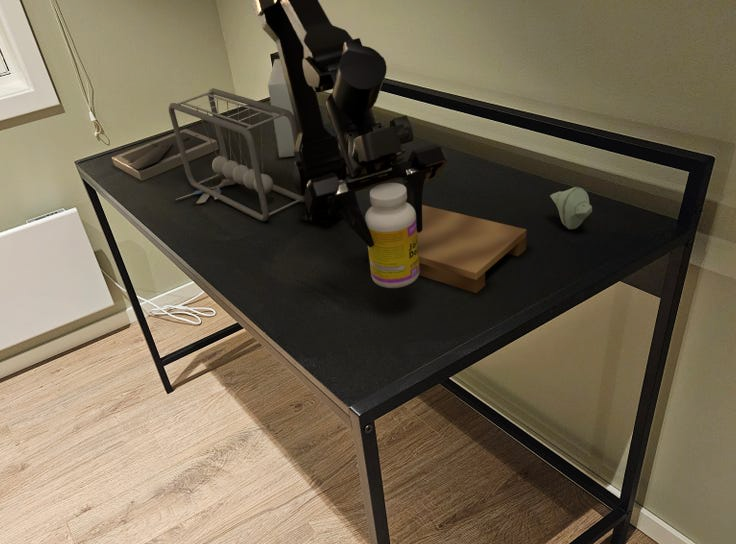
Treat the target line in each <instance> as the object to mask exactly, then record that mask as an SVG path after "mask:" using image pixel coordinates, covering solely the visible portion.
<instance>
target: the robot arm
mask: <svg viewBox="0 0 736 544" xmlns="http://www.w3.org/2000/svg"><path fill="white" fill-rule="evenodd" d="M251 4H252V8H253V12H254V14H255V16H256V17H258V19H259V22H260V26H261V28H262V30H263V31H264V32H265V33H266V34H267V36H268V37H269V38H270V39H271V40H272V41H274V43H275V45H276V49H277V52H278V57H279V59H280V61H281V65H282V69H283V73H284V77H285V81H286V85H287V89H288V93H289V97H290V101H291V105H292V109H293V113H294V117H295V121H296V126H297V130H298V138H297V142H296V145H295V149H294V156H293V157H294V162H293V166H292V172H291V178H292V182H293V185H294V188H295V189H296V191H297V193H299V195H300V196H304V200H305V202H304V205H305V210H306V214H305V215H303V216H302V217H301V221H302V222H305V223H309V224H311V225H315V226H319V227H322V228H329V227H331V226H332V225H333V224H335V223H336V222H337V221H339V220H342V221H343V222H344V223H346V224H347V225H348V226H349V228H351V229H352V230H353V231H354V232H355V234H357V236H359V238H360V239H361V240H362V241H363V242H364V243H365V244H366V245H367V247H368V246H369V247H370V248H371V247H373V245H374V243H373V239H372V236H371V233H370V231H369V229H368V226H367V224H366V222H365V216H364V215H363V213H362V210H361V208H360V206H359V203H358V199H357V195H356V192H359V191H363V190H366V189H369V188H374V187H376V186H378V185H380V184H385V183H392V182H394V181H397V180H401V179H402V182H403V185H404V186H405V187H406V190H407V199H406V202H407V203H409V204H410V205H411V206H412V207H413V208H414V210H415V213H416V225H417V232H418V233H420V232H421V231H422V205H423V194H424V193H423V192H424V186H425V185H426V183H427V182H428V181H431V180H434V179H436V178H437V177H438V176H439V174H440V173H441V172H442V170H443V168H444V167H445V165H446V164H447V163H448V161H449V159H448V157H447V154H446V152H445V149H444V148H442V147H441V146H440V145H438V143H434V144H431V145H427V146H424V147H420V148H416V149H412V151H411V153H410V154H409V156H408V158H407V160H406V161H404V162H400V163H395V164H393V161H397V159H398V158H397V153H399V152H403V146H402V145H404V144H408V143H410V142H413V141H414V131H413V127H412V125H411V123H410V120H409V118H408V115H406V114H405V115H403V116H399V117H395V118H393V119H391V120H390V121H389V126H388V127H385V128H384V126H383V124H382V123H381V122H378V121H377V118H376V116H375V112H374V110H373V107H374V106H375V104H376V103H377V101H378V98H379V95H380V92H381V89H382V86H383V84H384V81H385V79H386V75H387V70H388V69H387V63H386V62H387V61H386V60H385V57H383V56H382V55H381V53H380V52H379V51H377V50H376V49H374V48H372V47H370V46H366V45H363V43H362V41H361V37H357V38H353V37H352V36H351V35H350V34H349V32H348V30H346V29H344V28H341V27H339V26H336V25H333V23H332V22H331V21H330V18H329V17H328V15H327V13H326V12H325V10H324V8H323V6H322V4H321V3H320V1H319V0H251ZM331 90H332V92H331V93H330V94H329V95H328V97H327V99H326V103H325V109H326V112H327V118H328V119H329V121H330V123H331V126H332V129H333V131H334V134H335V135H333V134H331V132H330V131H328V130H327V128H326V127H325V124H324V119H323V115H322V112H321V108H320V103H319V99H318V94H317V93H324V92H327V91H331ZM338 143H339V144H338ZM339 146H340V149H339ZM346 166H347V167H346ZM347 169H348V171H349V176H350V177H347V176H348V174H347Z"/></svg>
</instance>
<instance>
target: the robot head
mask: <svg viewBox="0 0 736 544" xmlns="http://www.w3.org/2000/svg"><path fill="white" fill-rule="evenodd" d="M549 197H550V198H551V200H552V201H553V203H554V204H555V206H556V208H557V211H558V214H559V217H560V221H561V223H562V225H563V226H564V227H565V228H567V229H568V230H575V229H577V228H579V227H580V226H581V225H582V224H583V222H584V220H585V219H586V218H587V217H588V216H589V215H591V213H593V206H592V204H590V198H589V194H588V192H587V191H586V190H585V189H584V188H582V187H579V186H578V187H577V186H574V187H570V188H569V189H567V190H564V191H557V192H553V193H552V194H550V195H549Z"/></svg>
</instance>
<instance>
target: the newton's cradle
mask: <svg viewBox="0 0 736 544" xmlns="http://www.w3.org/2000/svg"><path fill="white" fill-rule="evenodd" d="M205 96H206V97H208V101H207V102H204V103H202V104H199V105H197V106H196V105H192V104H190V103H188V102H192V101H194V100H198V99H200V98H203V97H205ZM219 100H220V101H223V103H221V104H219ZM208 103H209V106H210V108H207V109H205V108H202V107H200V106H202V105H206V104H208ZM229 103H230V104H233V105H235V106H232V107H230V108H229ZM224 104H226V107H227V108H226V109H224V110H222V111H221V110H220V111H219V106H221V105H224ZM239 106H240V107H242V108H246V109H243V110H242V111H240V110H239V109H240V108H239ZM235 107H237V113H233V114H232V115H230V113H229V112H227V116H226V115H224V114H220V113H223V112H225V111H229V110H230V109H233V108H235ZM247 110H248V117H244V118H242V119H240V114H241V113H243V112H245V111H247ZM250 110H252V111H256V112H257V113H254V114H251V112H250ZM176 111H178V112H181V113H184V114H187V115H189V116H192V117H195V118H197V119H200V121H201V123H202V125H203V128H204V130H205V132H206V136H207V137H209V139H210V138H211V137H210V135H209V133H208V131H207V128H206V126H205V123H204V121H205V122H209V123H210V124H211V127H212V129H213V131H214V133H215V136H216V138H217V140H218V146H219V155H218V154H217V150H216V151H215V149H214V147H213V149H214V151H213V152H214V153H215V156H216V157H215V158H214V159H213V160H212V163H211V168H212V170H213V172H214V173H215V175H213V176H211V177H207V178H206V179H203V180H201V181H198V182H197V181H196V180H195V178H194V176H193V173H192V169H191V166H190V161H189V162H188V158H187V155H186V151H185V148H184V144H183V140H182V137H181V133H180V131H181V129H180V125H179V122H178V119H177V116H176ZM272 112H273V113H277V114H280V115H276V114H273V113H272ZM168 114H169V118H170V121H171V125H172V128H173V132H174V133H175V136H176V139H177V143H178V146H179V150H180V153H181V157H182V160H183V164H182V165H183V167H184V171H185V174H186V177H187V179H188V182H189V183H190V185H191V186H192V187H193V188H195V189H197V190H202V191H203V192H202V193H204V194H209V195H210V196H211V197H213V198H214V197H217V198H218V199H217V200H219V201H220V202H222V203H224V204H227V205H229V206H231V207H232V208H235V209H237V210H239V211H241V212H242V213H244V214H247V215H248V216H251V217H252V218H254V219H256V220H258V221H261V222H267V221H268V220H269V217H270V216H272V215H274V214H276V213H279V212H280V211H282V210H284V209H286V208H288V207H291V206H292V205H295V204H297V203H303V204H305V200H304V196H301V195H300V194H298V193H295V192H293V191H290V190H288V189H286V188H283V187H282V186H278V185H277V184H275V183H274V181H273V178H272V177H271V176H270V175H268V174H265V173H261V171H262V172H264V158H263V157H264V152H263V149H261V166H262V167H261V169H260V164H259V158H258V154H257V148H256V144H255V140H254V137H253V134H252V132H251V131H252V130H251V129H254V128H256V127H259V126H260V141H261V143H260V144H261V147H263V127H262V125H263V124H266V123H268V122H271V121H274V119H276V118H278V117H281V116H286V117H287V118H288V119H289V121H290V124H291V129H292V135H293V141H294V147H295V145H296V142H297V138H298V130H297V126H296V121H295V117H294V115H293V114H292V113H291V112H290V111H289V110H286V109H283V108H279V107H276V106H272V105H271V104H270V103H269V104H268V103H266V102H262V101H258V100H255V99H252V98H248V97H245V96H241V95H238V94H234V93H231V92H228V91H225V90H221V89H218V88H214V87H213V88H210V89H209V90H208V91H207V92H205V93H203V94H200V95H197V96H194V97H192V98H188V99H186V100H183V101H181V102H178V103H177V102H170V104H169V105H168ZM258 114H259V116H260V119H259V121H260V122H257V123H255V124H251V117H253V116H256V115H258ZM262 114H266V115H269V116H271V117H270V118H267V119H265V120H262ZM235 115H237V117H238V118H237V119H234V118H231V117H232V116H235ZM273 116H275V117H273ZM246 119H248V123H249V124H248V123H246V122H243V120H246ZM224 128H225V129H228V137H227V135H226V132H225V130H224ZM230 131H232V134H233V137H234V139H235V141H236V144H237V147H238V148H239V152H240V153H239V155H240V157H242V158H243V159H240V164H239V163H238V160H237V159H236V156H235V154H234V151H233V148H232V147H231V145H232V144H231V143H230V142H231V132H230ZM235 132H236V133H238V135H239V140H241V135H243V138H244V140H245V143H246V145H247V148H248V151H249V156H250V164H251V167H250V168H249V166H248V164H247V161H246V159H245V156H244V154H243V151H242V143H241V141H239V142H238V139H237V137H236V134H235ZM223 134H224V135H223ZM224 136H225V138H224ZM225 139H226V142H227V144H228V146H229V154H230V157H232V155H233V158H234V160H232V159H229V156H228V152H227V148H226V144H225ZM210 142H211V140H210ZM211 144H212V142H211ZM212 146H213V144H212ZM242 160H244V163H245V165H244V164H242V163H243V162H242ZM220 176H224V177H225V179H230V180H235V181H236V184H238V185H244V186H245V187H246V188H247V189H250V190H255V191H256V192H257V193H258V198H259V202H260V208H261V212H262V214H261V213H260V212H258V211H255V210H254V209H252V208H250V207H248V206H246V205H243V204H241V203H240V202H237V201H236V200H234V199H231V198H229V197H227V196H225V195H223V194H222V193H220V194H219V193H217V192H215V191H213V189H212V190H211V189H210V187H209V188H207V187H208V186H205V185H203V183H205V182H208V181H210V180H213V179H215V178H217V177H220ZM271 191H274V192H276V193H278V194H281V195H283V196H285V197H287V198H290V199H292V200H294V201H292V202H290V203H287V204H286V205H284V206H282V207H280V208H278V209H276V210H273V211H271V212H270V211H269V206H268V202H267V198H266V195H267V194H269V193H271Z"/></svg>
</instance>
